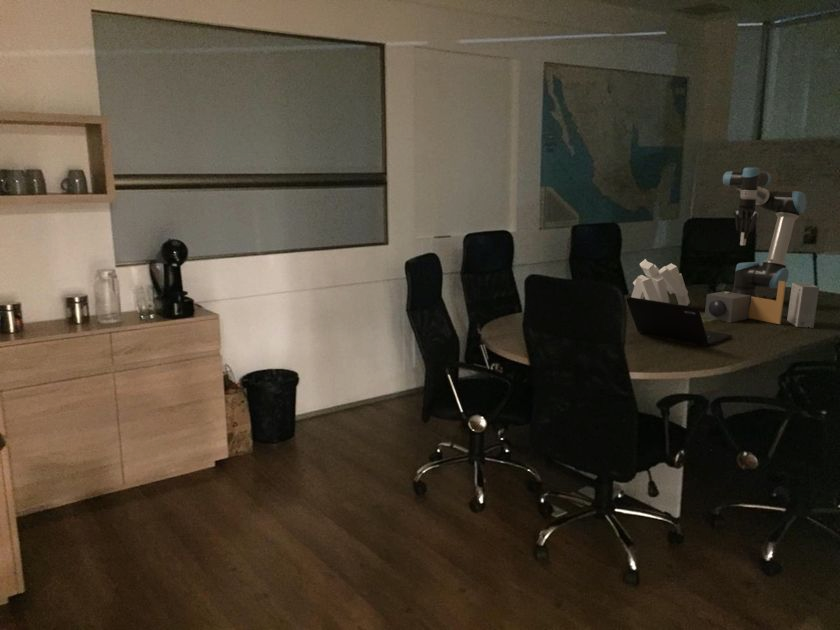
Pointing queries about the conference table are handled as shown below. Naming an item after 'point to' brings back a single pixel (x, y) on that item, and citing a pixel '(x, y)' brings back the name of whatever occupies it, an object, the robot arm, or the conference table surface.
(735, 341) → the conference table surface
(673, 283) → the pile of blocks
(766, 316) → the bent orange bar
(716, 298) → the grey box with knob
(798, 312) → the hard drive box
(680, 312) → the laptop
